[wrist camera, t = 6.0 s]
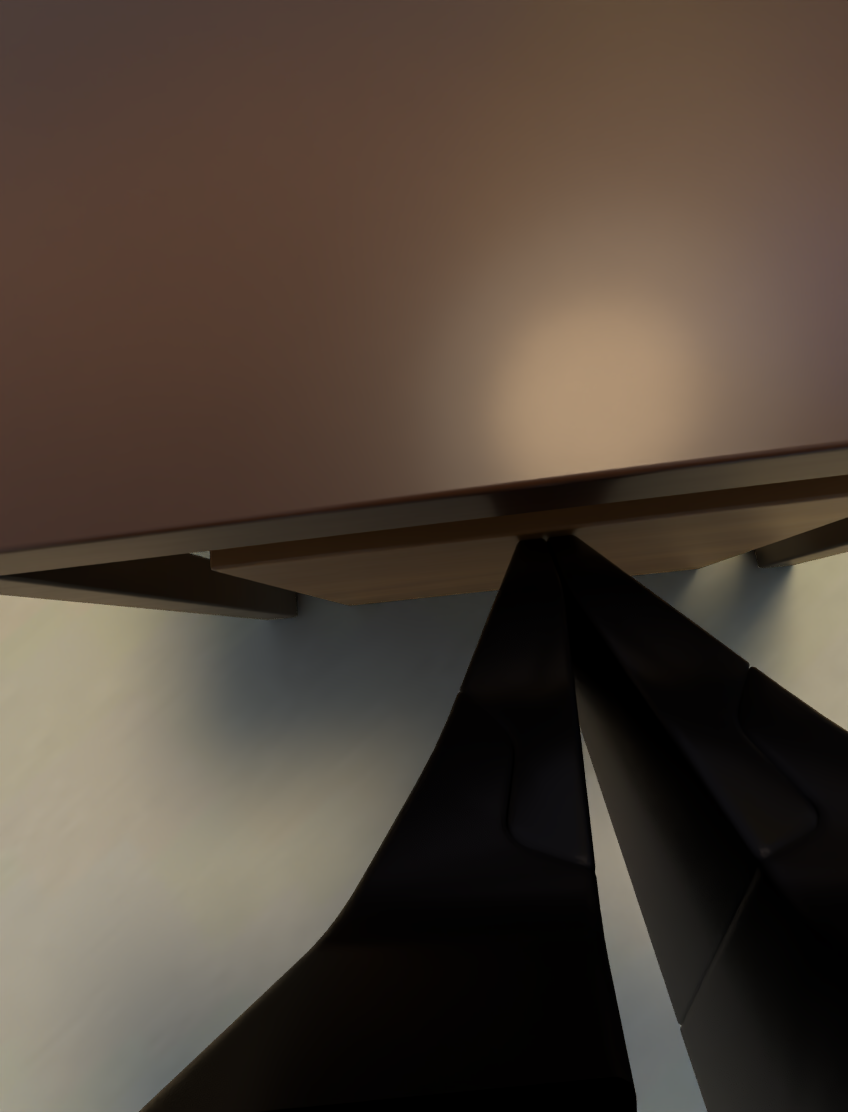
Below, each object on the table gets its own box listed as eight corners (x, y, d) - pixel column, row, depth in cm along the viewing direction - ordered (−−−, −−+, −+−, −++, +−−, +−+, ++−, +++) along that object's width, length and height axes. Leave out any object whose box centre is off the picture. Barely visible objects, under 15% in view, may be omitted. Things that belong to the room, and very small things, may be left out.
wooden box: (700, 569, 15) (942, 485, 7) (348, 606, 16) (208, 570, 8) (652, 308, 16) (808, -12, 8) (330, 357, 17) (196, 116, 9)
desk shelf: (796, 564, 14) (1702, 342, 4) (266, 620, 16) (-198, 576, 5) (717, 197, 16) (1158, -660, 6) (250, 277, 18) (-110, -273, 7)
